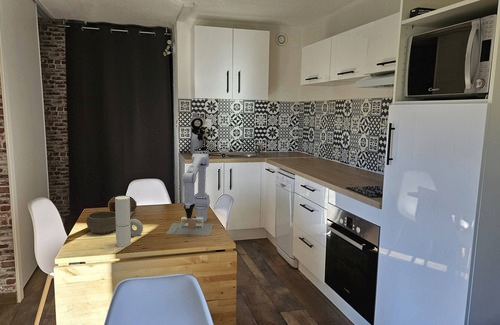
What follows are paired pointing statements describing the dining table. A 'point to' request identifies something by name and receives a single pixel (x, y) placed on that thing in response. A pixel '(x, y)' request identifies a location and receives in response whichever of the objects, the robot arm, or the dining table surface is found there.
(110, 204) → the clay pot
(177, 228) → the metal bar
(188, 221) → the rake
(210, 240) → the dining table surface
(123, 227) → the cylindrical container
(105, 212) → the bowl
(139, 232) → the donut
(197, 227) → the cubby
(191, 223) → the block
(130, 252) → the dining table surface
